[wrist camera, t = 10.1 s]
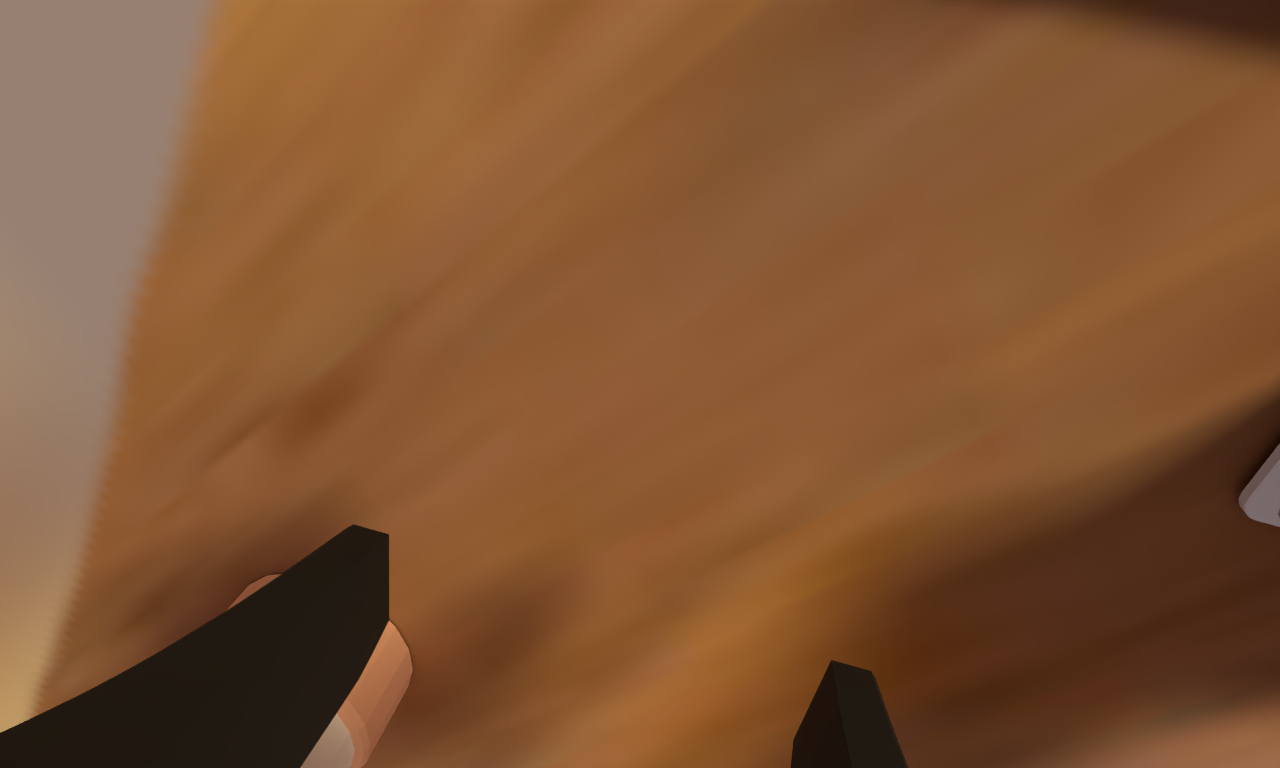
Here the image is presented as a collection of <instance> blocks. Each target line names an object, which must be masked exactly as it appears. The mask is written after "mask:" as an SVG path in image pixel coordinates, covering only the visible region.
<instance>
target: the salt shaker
mask: <svg viewBox="0 0 1280 768" xmlns="http://www.w3.org/2000/svg"><path fill="white" fill-rule="evenodd" d="M279 575H281V574H276V575H267V576H265V577H263V578H261V579H259V580H257V581H255V582H254V583H252V584H250V585H249V586H248V587H247V588H246V589H245V590H244V591H243V592H242V593H241V594H240V596H239V597H238V598H237V599H236V600H235V601H234V602H233V603H232V605H231V606H230V607H229V608H228V609H230V608H231V607H233V606H234V605H236V604H237V603H239V602H241V601H242V600H244V599H245V598H247V597H248V596H250V595H251V594H253V593H254V592H256V591H257V590H259V589H260V588H262V587H263V586H265V585H266V584H268V583H269V582H271V581H272V580H274V579H275V578H277V577H278V576H279ZM228 609H227V610H228ZM227 610H226V611H227ZM412 671H413V667H412V662H411V657H410V652H409V649H408V647H407V645H406V644H405V642H404V640H403V638H402V637H401V635H400V633H399V632H398V630H397V628H396V627H395V626H394V625H393V624H392V623H391V622H390V621H389V622H388V624H387V626H386V628H385V630H384V632H383V634H382V636H381V638H380V640H379V642H378V644H377V646H376V648H375V650H374V652H373V654H372V656H371V657H370V659H369V661H368V663H367V665H366V667H365V669H364V671H363V673H362V675H361V676H360V678H359V680H358V682H357V683H356V685H355V686H354V688H353V689H352V691H351V692H350V694H349V695H348V697H347V698H346V700H345V702H344V703H343V705H342V706H341V708H340V709H339V711H338V712H337V714H336V715H335V717H334V718H333V720H332V721H331V723H330V724H329V726H328V727H327V729H326V730H325V732H324V733H323V735H322V736H321V738H320V739H319V741H318V742H317V744H316V745H315V747H314V748H313V750H312V751H311V753H310V754H309V756H308V757H307V759H306V760H305V762H304V763H303V765H302V766H301V768H361V767H362V766H363V765H364V764H366V762H367V761H368V759H369V757H370V755H371V753H372V752H373V750H374V748H375V746H376V744H377V743H378V741H379V739H380V737H381V735H382V734H383V732H384V730H385V728H386V726H387V724H388V723H389V721H390V719H391V717H392V715H393V714H394V712H395V710H396V708H397V706H398V705H399V703H400V701H401V699H402V697H403V696H404V694H405V692H406V690H407V688H408V686H409V683H410V679H411V675H412Z"/></svg>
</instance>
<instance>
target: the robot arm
mask: <svg viewBox="0 0 1280 768" xmlns="http://www.w3.org/2000/svg"><path fill="white" fill-rule="evenodd" d="M1238 500H1239V505H1240V507H1241V508H1242V509H1243V511H1244V512H1245V513H1246V514H1247V516H1248V517H1249V518H1251V519H1253V520H1255V521H1259V522H1262V523H1266V524H1270V525H1274V526H1278V527H1280V443H1279V445H1278V446H1277V447H1276V449H1275V450H1274V451H1273V452H1272V454H1271V455H1270V456H1269V458H1268V459H1267V460H1266V461H1265V463H1264V464H1263V465H1262V467H1261V468H1260V469H1259V470H1258V472H1257V473H1256V474H1255V476H1254V477H1253V478H1252V479H1251V481H1250V482H1249V483H1248V485H1247V486H1246V487H1245V488H1244V490H1243V491H1242V492H1241V494H1240V496H1239V499H1238ZM388 622H389V534H385V533H382V532H378V531H375V530H371V529H368V528H364V527H361V526H357V525H352V526H350V527H348V528H346V529H345V530H343V531H342V532H341V533H339V534H338V535H336V536H335V537H334V538H332V539H331V540H329V541H328V542H326V543H325V544H324V545H322V546H321V547H319V548H318V549H317V550H315V551H314V552H312V553H311V554H310V555H308V556H307V557H305V558H304V559H302V560H301V561H300V562H298V563H297V564H295V565H294V566H292V567H291V568H290V569H288V570H287V571H285V572H284V573H282V574H281V575H279V576H278V577H277V578H275V579H274V580H272V581H271V582H269V583H268V584H266V585H265V586H263V587H262V588H260V589H259V590H257V591H256V592H254V593H253V594H251V595H250V596H248V597H247V598H245V599H244V600H242V601H241V602H239V603H237V604H236V605H234V606H233V607H231V608H230V609H228V610H227V611H225V612H224V613H222V614H221V615H219V616H217V617H216V618H214V619H213V620H211V621H209V622H208V623H206V624H204V625H203V626H201V627H200V628H198V629H196V630H195V631H193V632H191V633H190V634H188V635H186V636H185V637H183V638H181V639H180V640H178V641H176V642H175V643H173V644H172V645H170V646H168V647H167V648H165V649H163V650H162V651H160V652H158V653H156V654H155V655H153V656H151V657H149V658H148V659H146V660H144V661H142V662H141V663H139V664H137V665H135V666H133V667H132V668H130V669H128V670H126V671H124V672H122V673H121V674H119V675H117V676H115V677H113V678H111V679H109V680H107V681H106V682H104V683H102V684H100V685H98V686H96V687H94V688H92V689H90V690H88V691H86V692H85V693H83V694H81V695H79V696H77V697H75V698H73V699H71V700H68V701H66V702H64V703H62V704H60V705H58V706H56V707H54V708H52V709H50V710H48V711H46V712H44V713H42V714H39V715H37V716H35V717H33V718H31V719H29V720H27V721H25V722H23V723H21V724H19V725H16V726H14V727H12V728H10V729H8V730H6V731H4V732H1V733H0V768H301V766H302V765H303V763H304V762H305V760H306V759H307V757H308V756H309V754H310V753H311V751H312V750H313V748H314V747H315V745H316V744H317V742H318V741H319V739H320V738H321V736H322V735H323V733H324V732H325V730H326V729H327V727H328V726H329V724H330V723H331V721H332V720H333V718H334V717H335V715H336V714H337V712H338V711H339V709H340V708H341V706H342V705H343V703H344V702H345V700H346V698H347V697H348V695H349V694H350V692H351V691H352V689H353V688H354V686H355V685H356V683H357V682H358V680H359V678H360V676H361V675H362V673H363V671H364V669H365V667H366V665H367V663H368V661H369V659H370V657H371V656H372V654H373V652H374V650H375V648H376V646H377V644H378V642H379V640H380V638H381V636H382V634H383V632H384V630H385V628H386V626H387V624H388ZM791 768H908V766H907V763H906V761H905V758H904V756H903V753H902V750H901V748H900V745H899V743H898V740H897V737H896V735H895V732H894V729H893V727H892V724H891V721H890V719H889V716H888V713H887V710H886V707H885V705H884V702H883V699H882V696H881V693H880V690H879V687H878V684H877V681H876V679H875V677H874V675H873V674H872V672H871V671H868V670H865V669H861V668H858V667H854V666H850V665H847V664H843V663H840V662H836V661H833V660H831V662H830V664H829V666H828V668H827V670H826V673H825V675H824V677H823V679H822V681H821V683H820V685H819V687H818V689H817V692H816V694H815V696H814V698H813V700H812V702H811V704H810V706H809V708H808V710H807V713H806V715H805V717H804V719H803V721H802V723H801V725H800V727H799V729H798V731H797V734H796V736H795V738H794V742H793V751H792V761H791Z"/></svg>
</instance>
